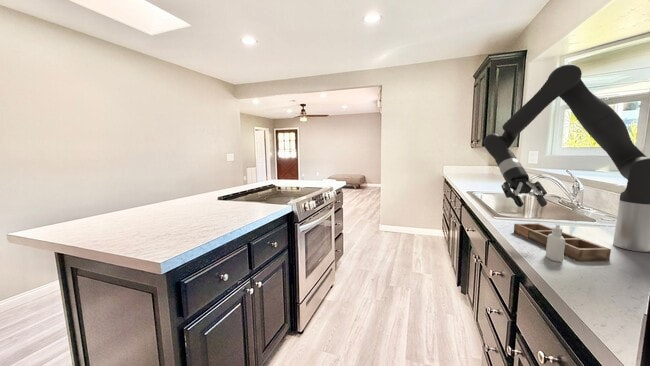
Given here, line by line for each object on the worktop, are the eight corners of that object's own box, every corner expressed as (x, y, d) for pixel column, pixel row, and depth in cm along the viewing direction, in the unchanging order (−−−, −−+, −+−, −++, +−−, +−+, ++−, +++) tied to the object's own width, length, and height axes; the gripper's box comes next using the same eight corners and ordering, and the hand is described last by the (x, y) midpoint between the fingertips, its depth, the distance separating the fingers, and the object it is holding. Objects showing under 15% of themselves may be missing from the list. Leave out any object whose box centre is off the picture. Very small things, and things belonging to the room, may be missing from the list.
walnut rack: (537, 232, 113) (538, 223, 113) (609, 260, 85) (611, 249, 84) (512, 232, 113) (513, 223, 113) (577, 261, 85) (578, 249, 84)
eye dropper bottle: (562, 257, 88) (566, 223, 86) (563, 263, 83) (567, 227, 82) (545, 254, 91) (549, 221, 89) (545, 259, 86) (549, 225, 85)
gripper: (500, 166, 102) (519, 200, 92) (536, 165, 102) (559, 200, 92) (490, 177, 108) (507, 211, 98) (524, 177, 108) (545, 210, 98)
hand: (532, 205), depth 95 cm, fingers open, 8 cm apart
